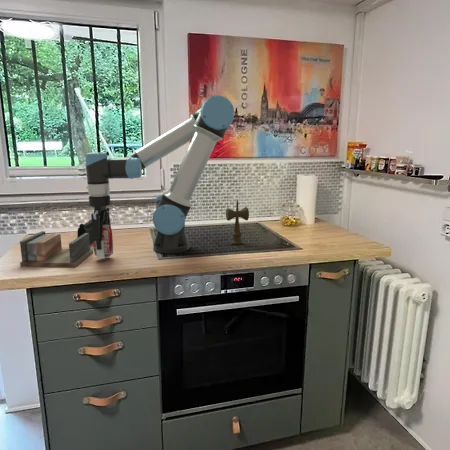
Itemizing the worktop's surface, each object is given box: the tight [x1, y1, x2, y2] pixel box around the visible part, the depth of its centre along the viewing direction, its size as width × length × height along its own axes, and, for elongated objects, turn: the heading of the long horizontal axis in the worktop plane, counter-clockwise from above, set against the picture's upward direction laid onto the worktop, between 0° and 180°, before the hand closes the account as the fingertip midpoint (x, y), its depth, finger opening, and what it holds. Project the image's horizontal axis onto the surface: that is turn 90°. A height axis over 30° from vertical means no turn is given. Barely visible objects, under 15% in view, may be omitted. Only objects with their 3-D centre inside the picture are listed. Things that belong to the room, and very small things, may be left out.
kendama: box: [225, 199, 250, 246], centre depth 167 cm, size 6×10×20 cm, turn 105°
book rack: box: [19, 230, 94, 268], centre depth 144 cm, size 20×18×9 cm
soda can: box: [92, 224, 114, 259], centre depth 143 cm, size 7×7×12 cm
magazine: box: [76, 218, 93, 246], centre depth 170 cm, size 18×3×31 cm
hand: (104, 254), depth 144 cm, fingers closed on soda can, 7 cm apart
